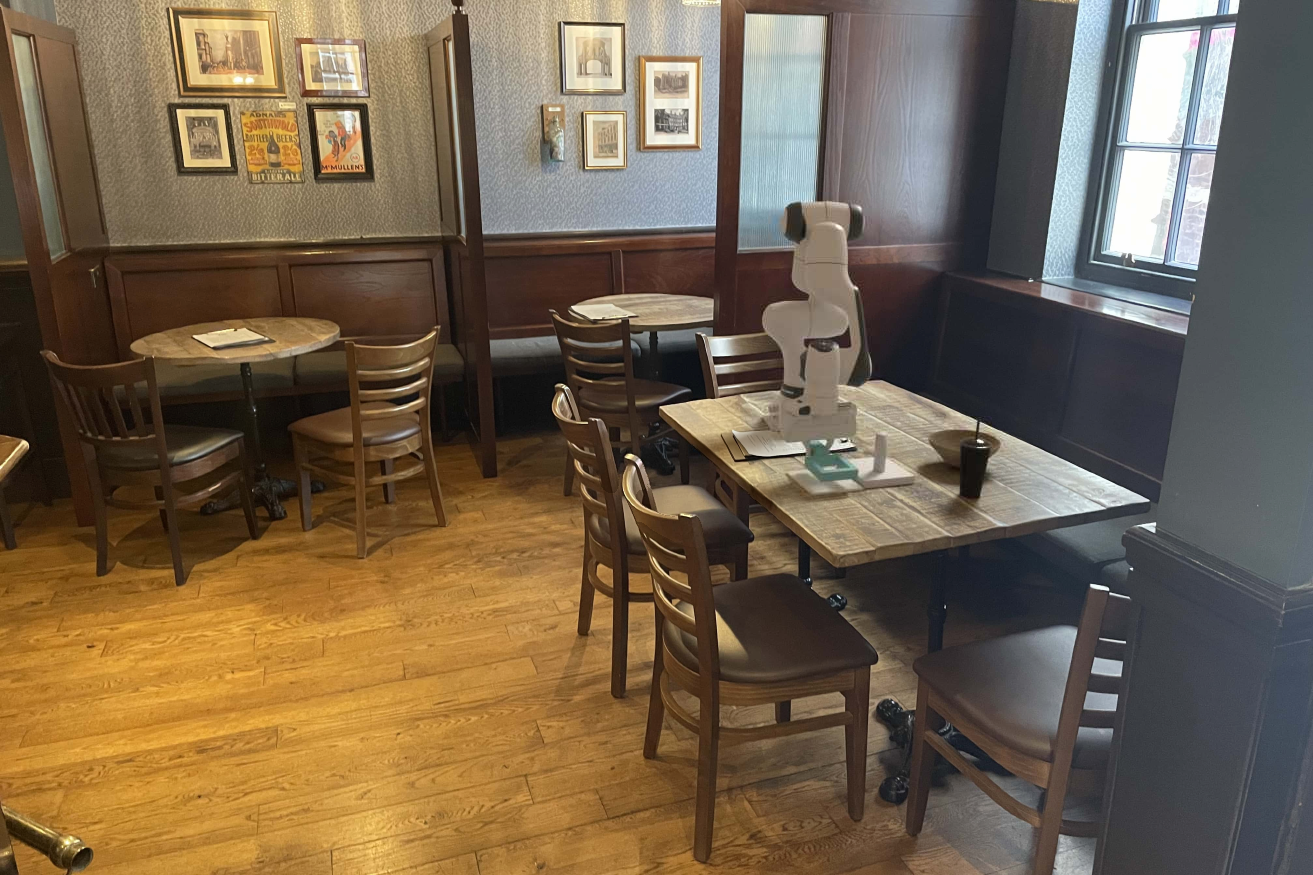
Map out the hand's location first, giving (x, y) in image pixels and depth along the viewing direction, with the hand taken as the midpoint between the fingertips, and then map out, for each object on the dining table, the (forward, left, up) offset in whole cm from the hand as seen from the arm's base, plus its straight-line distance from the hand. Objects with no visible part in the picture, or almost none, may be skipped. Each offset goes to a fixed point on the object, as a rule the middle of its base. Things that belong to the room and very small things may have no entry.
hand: (817, 455), depth 239 cm
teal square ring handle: (+5, 0, -2) cm, 5 cm away
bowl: (+4, +41, -6) cm, 41 cm away
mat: (+5, 0, -6) cm, 7 cm away
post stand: (+4, +15, -6) cm, 16 cm away
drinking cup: (+23, +31, -6) cm, 39 cm away
